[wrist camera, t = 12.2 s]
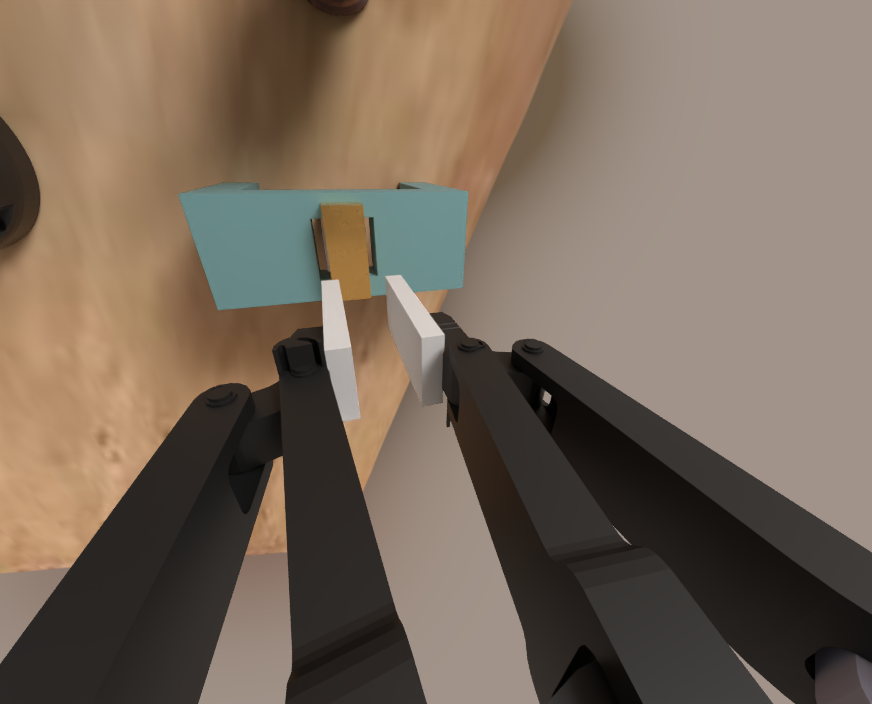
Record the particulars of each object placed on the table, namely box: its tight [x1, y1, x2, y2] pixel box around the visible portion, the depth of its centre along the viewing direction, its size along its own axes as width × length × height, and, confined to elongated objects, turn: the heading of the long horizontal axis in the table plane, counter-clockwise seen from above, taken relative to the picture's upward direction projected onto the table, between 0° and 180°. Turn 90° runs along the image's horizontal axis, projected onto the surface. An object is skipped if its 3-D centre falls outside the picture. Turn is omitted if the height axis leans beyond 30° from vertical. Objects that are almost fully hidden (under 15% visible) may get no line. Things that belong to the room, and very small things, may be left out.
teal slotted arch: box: [178, 183, 468, 310], centre depth 31 cm, size 20×8×12 cm, turn 90°
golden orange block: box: [320, 202, 371, 301], centre depth 30 cm, size 3×7×14 cm, turn 0°
